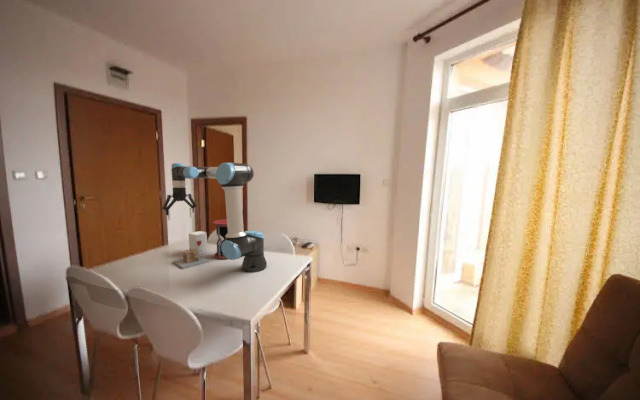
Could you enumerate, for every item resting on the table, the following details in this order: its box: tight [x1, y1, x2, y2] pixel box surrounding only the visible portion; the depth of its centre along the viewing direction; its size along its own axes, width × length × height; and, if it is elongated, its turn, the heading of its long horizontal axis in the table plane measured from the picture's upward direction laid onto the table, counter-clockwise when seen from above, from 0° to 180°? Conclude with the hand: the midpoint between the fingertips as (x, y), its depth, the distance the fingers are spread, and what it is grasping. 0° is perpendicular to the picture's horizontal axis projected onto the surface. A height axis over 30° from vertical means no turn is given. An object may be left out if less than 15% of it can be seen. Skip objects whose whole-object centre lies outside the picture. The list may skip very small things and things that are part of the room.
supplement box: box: [188, 230, 208, 255], centre depth 178 cm, size 9×9×15 cm
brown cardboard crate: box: [182, 249, 200, 263], centre depth 159 cm, size 7×7×6 cm
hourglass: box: [212, 218, 228, 260], centre depth 171 cm, size 16×16×25 cm
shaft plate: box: [173, 254, 210, 270], centre depth 159 cm, size 16×16×5 cm
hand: (180, 218), depth 161 cm, fingers open, 13 cm apart
